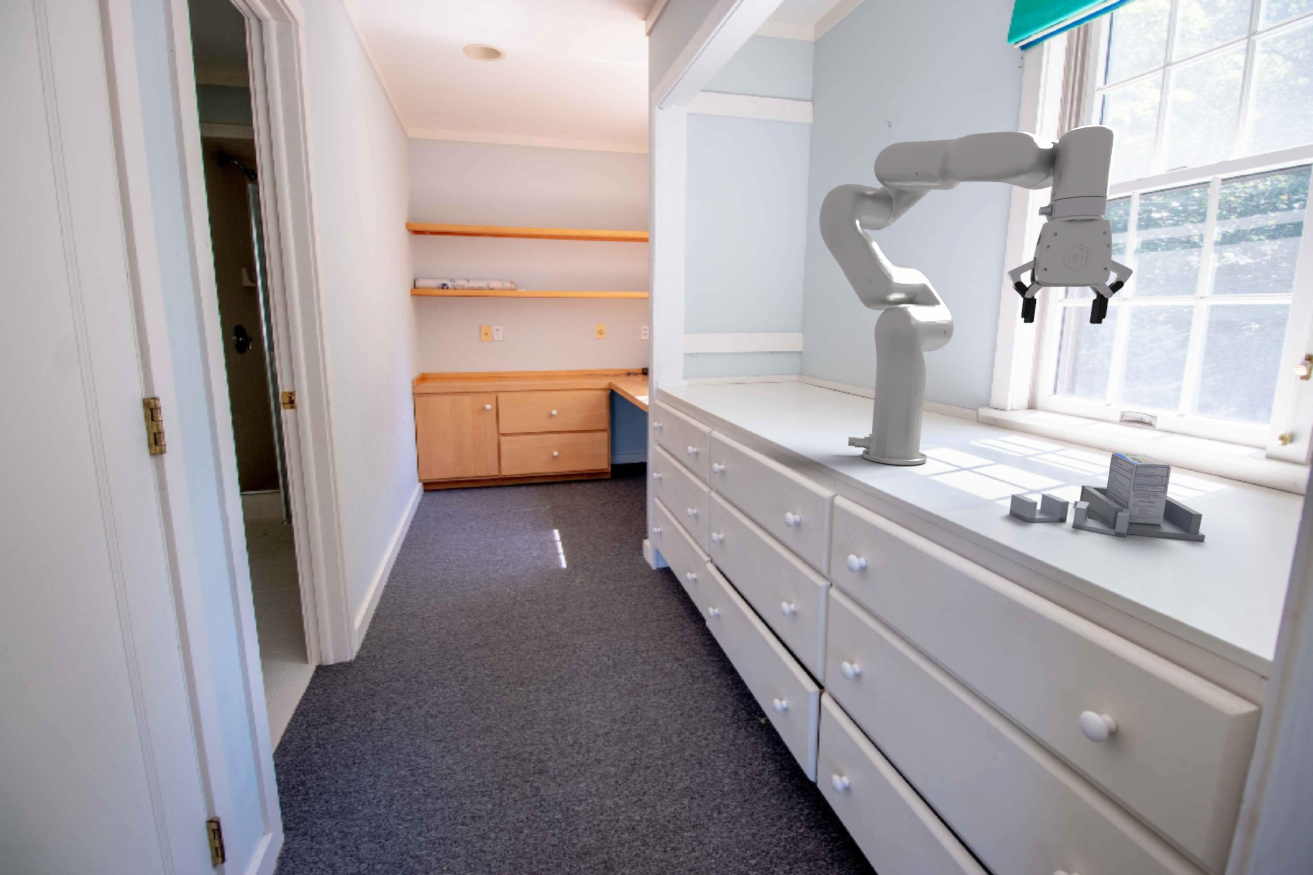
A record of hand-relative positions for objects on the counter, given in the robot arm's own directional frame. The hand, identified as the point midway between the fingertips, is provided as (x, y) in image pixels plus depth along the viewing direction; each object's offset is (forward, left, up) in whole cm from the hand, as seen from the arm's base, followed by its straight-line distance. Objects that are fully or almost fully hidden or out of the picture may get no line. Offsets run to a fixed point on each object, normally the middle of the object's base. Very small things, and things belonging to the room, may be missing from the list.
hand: (1061, 323), depth 101 cm
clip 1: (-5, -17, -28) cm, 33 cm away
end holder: (+8, -15, -28) cm, 33 cm away
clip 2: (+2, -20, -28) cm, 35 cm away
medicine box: (+8, -15, -28) cm, 32 cm away
